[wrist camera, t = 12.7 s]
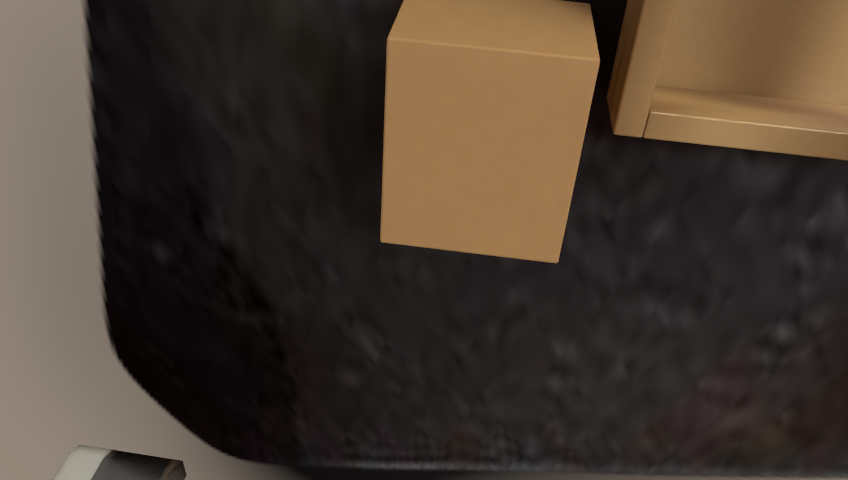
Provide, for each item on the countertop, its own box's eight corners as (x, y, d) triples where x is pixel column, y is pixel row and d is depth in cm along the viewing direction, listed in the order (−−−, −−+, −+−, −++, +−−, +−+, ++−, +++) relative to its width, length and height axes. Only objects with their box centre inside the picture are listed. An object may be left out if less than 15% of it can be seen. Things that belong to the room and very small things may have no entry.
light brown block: (400, 170, 25) (379, 242, 21) (409, -16, 21) (386, 37, 18) (555, 188, 24) (557, 264, 21) (590, 2, 21) (601, 59, 18)
